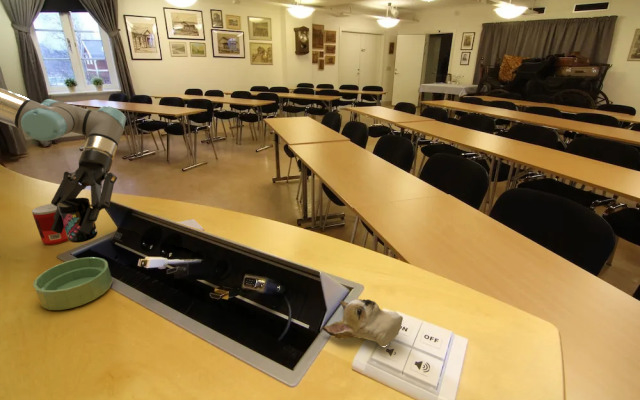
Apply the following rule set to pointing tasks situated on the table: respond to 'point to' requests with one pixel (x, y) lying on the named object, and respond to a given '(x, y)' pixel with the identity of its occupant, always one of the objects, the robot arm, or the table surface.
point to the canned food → (48, 224)
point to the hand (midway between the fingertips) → (70, 232)
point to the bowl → (73, 283)
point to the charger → (192, 224)
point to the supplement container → (75, 219)
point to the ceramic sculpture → (366, 322)
